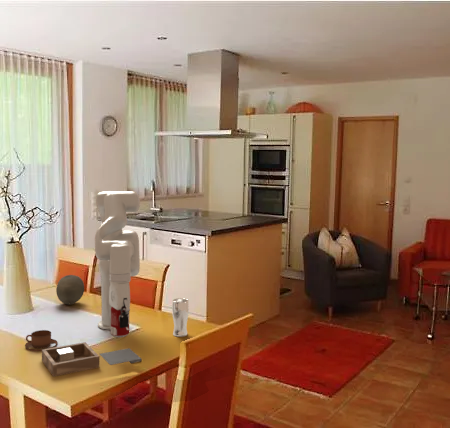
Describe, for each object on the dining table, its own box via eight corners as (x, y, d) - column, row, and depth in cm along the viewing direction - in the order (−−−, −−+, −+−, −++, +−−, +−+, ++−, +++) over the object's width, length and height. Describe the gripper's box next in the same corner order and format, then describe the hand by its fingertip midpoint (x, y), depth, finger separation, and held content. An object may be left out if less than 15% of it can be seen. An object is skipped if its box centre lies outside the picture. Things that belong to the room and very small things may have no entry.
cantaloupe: (50, 305, 260) (49, 275, 258) (72, 299, 271) (72, 271, 270) (68, 310, 252) (67, 280, 250) (90, 304, 263) (90, 275, 262)
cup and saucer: (23, 355, 195) (23, 339, 194) (26, 344, 206) (26, 329, 206) (56, 352, 198) (56, 337, 197) (58, 342, 209) (58, 327, 209)
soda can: (113, 339, 187) (113, 307, 186) (108, 333, 193) (108, 302, 192) (131, 336, 191) (131, 305, 189) (126, 331, 197) (126, 300, 195)
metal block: (56, 360, 188) (56, 349, 187) (70, 357, 190) (70, 347, 190) (60, 365, 184) (59, 354, 183) (74, 362, 186) (73, 351, 186)
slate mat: (99, 356, 195) (99, 353, 195) (129, 350, 201) (129, 348, 201) (110, 367, 185) (110, 364, 185) (141, 361, 191) (141, 358, 191)
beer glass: (185, 337, 217) (186, 303, 215) (169, 336, 218) (170, 301, 217) (190, 332, 224) (190, 298, 222) (174, 331, 225) (175, 297, 224)
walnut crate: (41, 362, 188) (41, 349, 187) (85, 354, 196) (85, 342, 196) (53, 379, 174) (53, 365, 174) (99, 369, 183) (99, 356, 182)
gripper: (102, 273, 195) (102, 319, 197) (119, 283, 181) (119, 332, 182) (121, 271, 199) (121, 316, 201) (139, 281, 185) (138, 329, 186)
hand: (120, 324), depth 192 cm, fingers closed on soda can, 6 cm apart
